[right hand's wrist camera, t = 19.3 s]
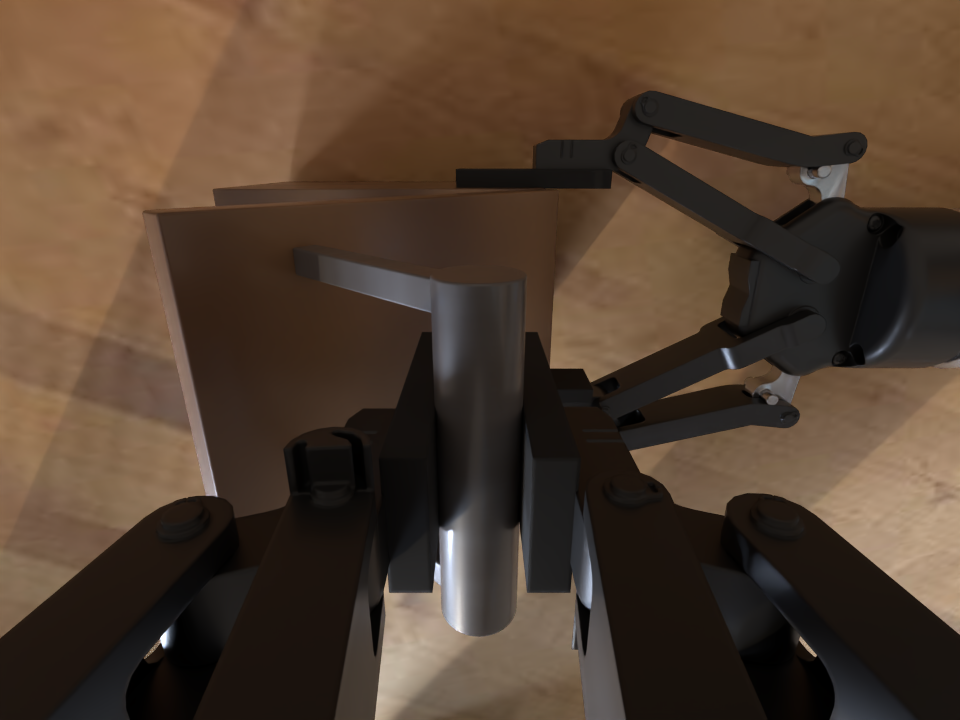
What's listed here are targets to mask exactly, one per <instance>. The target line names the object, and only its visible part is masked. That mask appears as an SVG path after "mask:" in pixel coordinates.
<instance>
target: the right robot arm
mask: <svg viewBox="0 0 960 720" xmlns="http://www.w3.org/2000/svg"><path fill="white" fill-rule="evenodd" d="M283 451H284V458H285V464H286V471H287V477H288V484H289V490H290V496H289V498H288V501H287V503H286V505H285V506H284V507H281V508H279V509H275V510H271V511H268V512H263V513H258V514H253V515H248V516H243V517H238V518H235V514H234V509H233V506H232V505H231V504H230V503H229V502H228V501H227V500H226V499H224V498H220V497H216V496H194V497H188V498H183V499H180V500H176V501H174V502H172V503H170V504H168V505H165V506H163V507H160V508H159V509H157V510H155V511H154V512H152V513H151V514H149V515H148V516H146V517H145V518H143V519H142V520H141V521H140V522H139V523H137V524H136V525H135V526H134V527H133V528H132V529H130V530H129V531H128V532H127V533H126V534H124V535H123V536H122V537H121V538H120V539H118V540H117V541H116V542H115V543H114V544H112V545H111V546H110V547H109V548H108V549H106V550H105V551H104V552H103V553H102V554H100V555H99V556H98V557H97V558H96V559H95V560H93V561H92V562H91V563H90V564H89V565H87V566H86V567H85V568H84V569H83V570H81V571H80V572H79V573H78V574H77V575H75V576H74V577H73V578H72V579H71V580H69V581H68V582H67V583H66V584H65V585H64V586H62V587H61V588H60V589H59V590H58V591H56V592H55V593H54V594H53V595H52V596H50V597H49V598H48V599H47V600H46V601H44V602H43V603H42V604H41V605H40V606H38V607H37V608H36V609H35V610H34V611H32V612H31V613H30V614H29V615H28V616H27V617H25V618H24V619H23V620H22V621H21V622H19V623H18V624H17V625H16V626H15V627H13V628H12V629H11V630H10V631H9V632H7V633H6V634H5V635H4V636H3V637H1V638H0V720H375V711H376V701H377V692H378V682H379V673H380V663H381V653H382V644H383V634H384V625H385V604H384V593H383V591H384V586H385V582H386V577H387V573H388V583H389V593H432V591H433V582H434V573H435V564H436V555H437V546H438V537H439V528H440V523H439V493H438V464H437V435H436V408H435V406H434V378H433V349H432V332H422V334H421V336H420V339H419V342H418V345H417V348H416V351H415V354H414V357H413V360H412V363H411V365H410V368H409V371H408V374H407V377H406V380H405V383H404V386H403V389H402V392H401V394H400V397H399V400H398V403H397V406H396V408H363V409H362V410H360V411H359V412H357V413H356V414H355V415H353V416H352V417H350V418H349V419H348V421H347V423H346V424H345V426H344V427H328V428H320V429H316V430H313V431H310V432H306V433H303V434H301V435H300V436H298V437H296V438H294V439H292V440H291V441H290V442H289V443H288V444H287V445H286V446H285V447H284V448H283ZM519 522H520V532H521V541H522V550H523V559H524V568H525V577H526V586H527V593H570V589H571V577H572V572H573V577H574V581H575V586H576V590H577V593H576V604H575V616H574V628H573V640H572V649H575V650H578V653H579V662H580V672H581V681H582V691H583V700H584V710H585V719H586V720H960V635H959V634H958V633H957V632H956V631H954V630H953V629H952V628H951V627H950V626H948V625H947V624H946V623H945V622H944V621H942V620H941V619H940V618H939V617H938V616H936V615H935V614H934V613H933V612H932V611H930V610H929V609H928V608H927V607H926V606H924V605H923V604H922V603H921V602H920V601H918V600H917V599H916V598H915V597H914V596H912V595H911V594H910V593H909V592H907V591H906V590H905V589H904V588H903V587H901V586H900V585H899V584H898V583H897V582H895V581H894V580H893V579H892V578H891V577H889V576H888V575H887V574H886V573H885V572H883V571H882V570H881V569H880V568H879V567H877V566H876V565H875V564H874V563H873V562H871V561H870V560H869V559H868V558H867V557H865V556H864V555H863V554H862V553H861V552H859V551H858V550H857V549H856V548H855V547H853V546H852V545H851V544H850V543H849V542H847V541H846V540H845V539H844V538H843V537H841V536H840V535H839V534H838V533H836V532H835V531H834V530H833V529H832V528H830V527H829V526H828V525H827V524H826V523H824V522H823V521H822V520H821V519H820V518H818V517H817V516H816V515H815V514H813V513H811V512H810V511H808V510H807V509H805V508H804V507H802V506H801V505H798V504H796V503H794V502H791V501H789V500H786V499H785V498H782V497H778V496H775V495H774V496H772V495H769V494H755V493H746V494H742V495H739V496H735V497H733V498H732V499H731V500H730V501H729V502H728V503H727V506H726V511H725V516H723V515H718V514H713V513H708V512H703V511H698V510H693V509H689V508H686V507H682V506H679V505H677V504H674V502H673V500H672V498H671V495H670V493H669V492H668V491H667V489H666V488H665V487H664V485H663V484H661V483H660V482H658V481H657V480H655V479H654V478H652V477H650V476H648V475H645V474H642V473H640V471H639V469H638V467H637V465H636V464H635V462H634V460H633V458H632V456H631V454H630V452H629V450H628V448H627V446H626V444H625V442H623V439H622V437H621V435H620V433H619V432H618V429H617V427H616V425H615V423H614V421H613V419H612V417H610V416H609V415H608V414H606V413H605V412H603V411H602V410H601V409H599V408H598V407H563V404H562V402H561V399H560V396H559V393H558V390H557V387H556V384H555V381H554V378H553V375H552V372H551V370H550V367H549V364H548V361H547V358H546V355H545V352H544V349H543V346H542V343H541V340H540V338H539V335H538V332H525V361H524V392H523V423H522V453H521V484H520V515H519ZM800 636H801V637H802V638H803V639H804V641H805V642H806V643H807V644H808V645H809V646H810V647H811V649H812V650H813V651H814V652H815V653H816V654H817V656H816V657H814V656H813V655H812V654H811V653H810V652H808V651H807V650H806V648H805V647H804V646H803V645H802V644H801V642H800V641H799V638H800ZM159 639H160V640H161V643H160V645H159V646H158V647H157V648H156V649H155V651H154V652H153V653H152V654H151V655H149V656H148V657H147V658H146V659H144V656H145V655H146V654H147V653H148V652H149V651H150V649H151V648H152V647H153V646H154V645H155V644H156V642H157V641H158V640H159Z"/></svg>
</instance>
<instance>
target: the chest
mask: <svg viewBox="0 0 960 720" xmlns="http://www.w3.org/2000/svg"><path fill="white" fill-rule="evenodd" d="M529 189H545V188H456V182H281V183H270V184H260V185H249V186H239V187H228V188H218V189H213V194H214V200H215V206H230V205H249V204H268V203H286V202H305V201H324V200H342V199H361V198H380V197H399V196H417V195H436V194H455V193H473V192H492V191H511V190H529Z"/></svg>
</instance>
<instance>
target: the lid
mask: <svg viewBox="0 0 960 720" xmlns="http://www.w3.org/2000/svg"><path fill="white" fill-rule="evenodd" d="M558 194H559V191H558V190H551V189H529V190H511V191H492V192H473V193H455V194H436V195H417V196H399V197H380V198H361V199H342V200H324V201H305V202H286V203H268V204H249V205H230V206H212V207H193V208H174V209H156V210H145V211H143V218H144V222H145V227H146V231H147V236H148V240H149V244H150V249H151V253H152V258H153V262H154V267H155V271H156V276H157V280H158V284H159V289H160V293H161V298H162V302H163V307H164V311H165V315H166V320H167V324H168V329H169V333H170V338H171V342H172V347H173V351H174V355H175V360H176V364H177V369H178V373H179V378H180V382H181V387H182V391H183V395H184V400H185V404H186V409H187V413H188V418H189V422H190V426H191V431H192V435H193V440H194V444H195V449H196V453H197V458H198V462H199V466H200V471H201V475H202V480H203V484H204V489H205V493H206V496H216V497H220V498H224V499H226V500H227V501H228V502H229V503H230V504H231V505H232V506H233V509H234V514H235V518H238V517H243V516H248V515H253V514H258V513H263V512H268V511H271V510H275V509H279V508H281V507H284V506H285V505H286V503H287V501H288V498H289V496H290V490H289V484H288V477H287V471H286V464H285V458H284V451H283V448H284V447H285V446H286V445H287V444H288V443H289V442H290V441H291V440H292V439H294V438H296V437H298V436H300V435H301V434H303V433H306V432H310V431H313V430H316V429H320V428H328V427H344V426H345V424H346V423H347V421H348V419H349V418H350V417H352V416H353V415H355V414H356V413H357V412H359V411H360V410H362V409H363V408H396V406H397V403H398V400H399V397H400V394H401V392H402V389H403V386H404V383H405V380H406V377H407V374H408V371H409V368H410V365H411V363H412V360H413V357H414V354H415V351H416V348H417V345H418V342H419V339H420V336H421V334H422V332H432V349H433V378H434V406H435V408H436V435H437V464H438V493H439V523H440V528H439V537H438V546H437V555H436V564H435V573H434V581H435V582H437V583H438V584H439V585H440V586H441V605H442V613H443V615H444V617H445V619H446V621H447V622H448V623H449V625H450V626H451V627H453V628H454V629H455V630H457V631H459V632H460V633H463V634H466V635H469V636H479V637H480V636H488V635H492V634H495V633H497V632H499V631H501V630H503V629H504V628H505V627H507V626H508V625H509V623H510V622H511V621H512V619H513V617H514V615H515V613H516V607H517V577H518V546H519V515H520V484H521V453H522V423H523V392H524V361H525V332H538V335H539V338H540V340H541V343H542V346H543V349H544V352H545V355H546V358H547V361H548V364H549V367H550V350H551V330H552V311H553V291H554V272H555V252H556V233H557V213H558Z"/></svg>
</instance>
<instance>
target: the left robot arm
mask: <svg viewBox="0 0 960 720" xmlns="http://www.w3.org/2000/svg"><path fill="white" fill-rule="evenodd" d="M651 133H652V134H655V135H659V136H662V137H666V138H669V139H673V140H677V141H680V142H684V143H687V144H691V145H694V146H698V147H701V148H705V149H709V150H712V151H716V152H719V153H723V154H726V155H730V156H733V157H737V158H740V159H744V160H748V161H751V162H755V163H758V164H763V165H767V166H777V167H788V168H787V175H788V176H789V178H790V180H791V181H792V182H793V183H794V184H798V185H803V186H804V187H806V188H807V189H808V191H809V197H810V198H809V199H807V200H805V201H804V202H802V203H801V204H799V205H798V206H796V207H794V208H793V209H791V210H790V211H788V212H787V213H785V214H784V215H782V216H781V217H779V218H778V219H776V220H774V221H771V220H770V219H768V218H766V217H763V216H761V215H758V214H756V213H754V212H753V211H751V210H749V209H748V208H746V207H744V206H743V205H741V204H739V203H738V202H736V201H734V200H733V199H731V198H729V197H728V196H726V195H725V194H723V193H721V192H720V191H718V190H716V189H715V188H713V187H711V186H710V185H708V184H706V183H705V182H703V181H701V180H700V179H698V178H696V177H695V176H693V175H692V174H690V173H688V172H687V171H685V170H683V169H682V168H680V167H678V166H677V165H675V164H673V163H672V162H670V161H668V160H667V159H665V158H663V157H662V156H660V155H659V154H657V153H655V152H654V151H652V150H650V149H649V148H647V147H645V145H646V143H647V141H648V139H649V136H650V134H651ZM866 149H867V139H866V137H865V135H863V134H862V133H859V132H849V133H837V134H825V135H814V136H809V135H806V134H802V133H799V132H795V131H792V130H788V129H785V128H781V127H778V126H775V125H771V124H768V123H764V122H761V121H757V120H754V119H750V118H747V117H743V116H740V115H737V114H733V113H730V112H726V111H723V110H719V109H716V108H712V107H709V106H705V105H702V104H699V103H695V102H692V101H688V100H685V99H681V98H678V97H674V96H671V95H667V94H664V93H661V92H657V91H647V92H645V93H642V94H640V95H637V96H635V97H633V98H631V99H628V100H627V101H626V102H625V103H624V104H623V106H622V107H621V110H620V118H619V120H618V122H617V125H616V127H615V129H614V131H613V133H612V134H611V135H610V136H609V137H608V138H606V139H604V140H547V141H544V142H542V143H539V144H537V145H535V146H533V168H532V169H456V188H579V189H611V179H612V171H613V172H614V173H616V174H618V175H620V176H621V177H623V178H625V179H626V180H628V181H630V182H631V183H633V184H635V185H637V186H638V187H640V188H642V189H643V190H645V191H647V192H648V193H650V194H652V195H654V196H655V197H657V198H659V199H660V200H662V201H664V202H665V203H667V204H669V205H671V206H672V207H674V208H676V209H677V210H679V211H681V212H682V213H684V214H686V215H687V216H689V217H691V218H693V219H694V220H696V221H698V222H699V223H701V224H703V225H704V226H706V227H708V228H710V229H711V230H713V231H715V232H716V234H718V235H719V236H721V237H723V238H724V239H726V240H728V241H729V242H731V243H733V244H735V245H736V246H738V247H739V248H738V250H737V252H736V253H731V256H730V262H729V268H728V271H729V281H730V285H729V288H728V290H727V292H726V295H725V297H724V299H723V303H722V308H721V314H720V315H721V316H723V317H721V318H719V319H717V320H715V321H712V322H710V323H708V324H706V325H704V326H703V327H702V328H701V329H700V331H699V332H698V333H697V334H695V335H692V336H690V337H688V338H686V339H684V340H682V341H680V342H677V343H675V344H673V345H671V346H669V347H667V348H664V349H662V350H660V351H658V352H656V353H654V354H652V355H649V356H647V357H645V358H643V359H641V360H639V361H636V362H634V363H632V364H630V365H628V366H626V367H623V368H621V369H619V370H617V371H615V372H613V373H611V374H608V375H606V376H604V377H602V378H600V379H598V380H595V381H593V382H591V383H590V382H589V380H588V378H587V376H586V374H585V372H584V370H583V369H550V370H551V372H552V375H553V378H554V381H555V384H556V387H557V390H558V393H559V396H560V399H561V402H562V404H563V407H598V408H599V409H601V410H602V411H603V412H605V413H606V414H608V415H609V416H610V417H612V419H613V421H614V423H615V425H616V427H617V429H618V432H619V433H620V435H621V437H622V439H623V442H625V444H626V446H627V448H628V450H629V451H630V450H635V449H640V448H645V447H649V446H654V445H659V444H663V443H668V442H673V441H678V440H682V439H687V438H692V437H697V436H701V435H706V434H711V433H716V432H720V431H725V430H730V429H734V428H739V427H744V426H749V425H757V426H768V427H778V428H789V427H791V426H793V425H794V424H796V423H797V421H798V420H799V416H800V413H799V411H798V410H797V409H796V408H795V407H794V406H793V405H791V401H792V399H793V396H794V393H795V390H796V387H797V384H798V382H799V379H800V376H804V375H808V374H810V373H812V372H814V371H816V370H819V369H822V368H826V367H845V368H926V367H935V368H941V369H945V368H960V208H953V209H946V208H862V207H859V206H857V205H855V204H854V203H853V202H851V201H850V200H848V199H845V198H844V196H845V189H846V182H847V175H848V167H849V163H853V162H856V161H858V160H859V159H860V158H862V156H863V155H864V153H865V152H866ZM762 359H765V360H766V361H768V362H769V363H770V364H771V365H773V366H772V368H771V370H770V371H769V372H768V373H767V374H766V375H764V376H760V377H754V378H753V377H748V378H747V379H745V381H744V385H737V384H736V385H725V386H719V387H714V388H710V389H705V390H700V391H696V392H691V393H687V394H682V395H678V396H673V397H668V398H664V399H661V398H663V397H665V396H668V395H670V394H672V393H674V392H677V391H679V390H681V389H683V388H685V387H688V386H690V385H692V384H694V383H697V382H699V381H701V380H703V379H706V378H708V377H710V376H712V375H714V374H717V373H719V372H721V371H723V370H726V369H741V368H744V367H746V366H748V365H751V364H753V363H755V362H757V361H759V360H762Z"/></svg>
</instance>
